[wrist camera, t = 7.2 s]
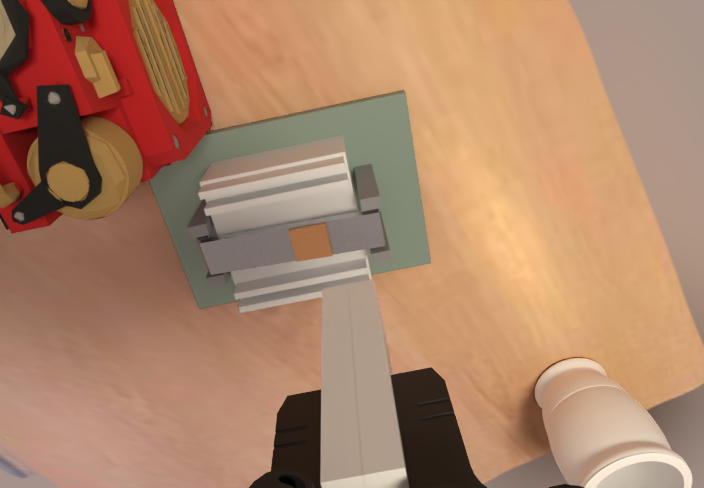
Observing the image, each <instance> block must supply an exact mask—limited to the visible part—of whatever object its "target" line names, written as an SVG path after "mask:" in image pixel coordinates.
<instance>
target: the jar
mask: <svg viewBox="0 0 704 488" xmlns="http://www.w3.org/2000/svg"><path fill="white" fill-rule="evenodd" d="M535 399H536V401H537V403H538V405H539V406H540V407H541V408H542V416H543V422H544V426H545V429H546V432H547V435H548V440H549V444H550V447H551V450H552V453H553V456H554V458H555V461H556V463H557V465H558V467H559V469H560V470H561V472H562V474H563V476H564V477H565V479H566V481H567V482H568V484H569V485H577V486H582V487H584V488H691V486H692V474H691V471H690V469H689V467H688V465H687V464H686V462H685V461H684V460H683V459H682V458H681V457H680V456H679V455H678V454H676V453H675V452H673V451H671V448H670V446H669V444H668V442H667V440H666V438H665V436H664V434H663V433H662V431H661V429H660V428H659V426H658V425H657V423H656V422H655V420H654V419H653V418H652V417H651V416H650V414H649V413H648V412H647V411H646V409H645V408H644V407H643V406H642V405H641V404H640V403H639V402H638V401H636V400H635V399H634V398H633V397H632V396H631V395H629V394H628V392H627V391H626V390H625V389H624V388H622V387H621V386H620V385H619V384H618V383H616V382H615V381H614V380H612V379H611V378H609V377H607V375H606V372H605V370H604V369H603V367H602V366H601V365H600V364H598V363H597V362H595V361H593V360H590V359H586V358H571V359H567V360H563V361H561V362H558V363H556V364H555V365H553V366H551V367H550V368H549V369H547V370H546V371H545V372H544V373H543V374H542V375H541V377H540V378H539V380H538V381H537V384H536V387H535Z"/></svg>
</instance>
